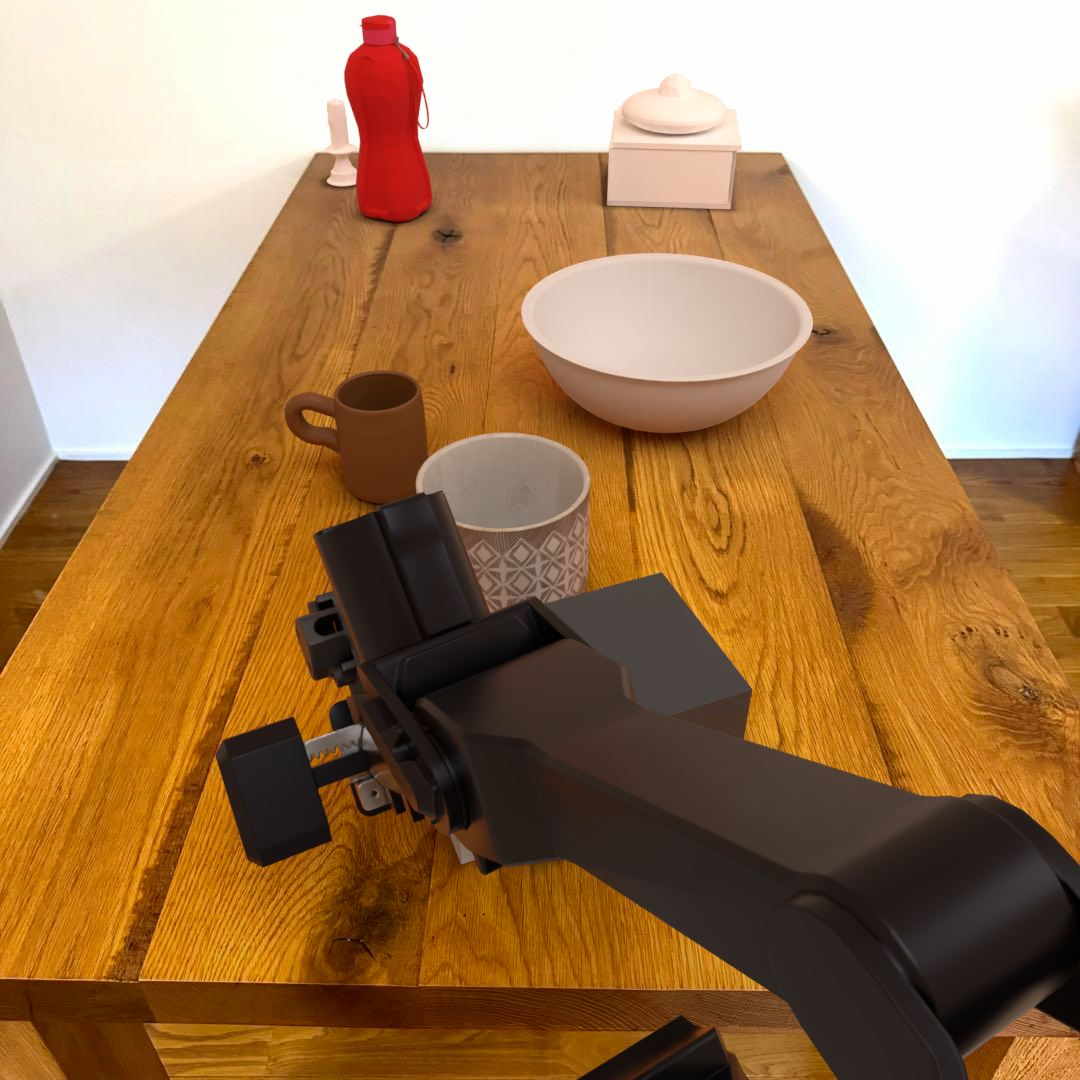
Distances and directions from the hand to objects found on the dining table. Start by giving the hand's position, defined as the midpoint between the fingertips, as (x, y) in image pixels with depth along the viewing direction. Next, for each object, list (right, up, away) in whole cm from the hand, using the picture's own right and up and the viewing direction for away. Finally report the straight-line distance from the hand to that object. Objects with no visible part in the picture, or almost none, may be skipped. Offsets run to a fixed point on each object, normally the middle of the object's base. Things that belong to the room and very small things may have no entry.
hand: (387, 736), depth 60 cm
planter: (+6, +7, +22) cm, 24 cm away
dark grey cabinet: (+13, -3, +8) cm, 16 cm away
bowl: (+21, +25, +44) cm, 55 cm away
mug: (-7, +16, +34) cm, 38 cm away
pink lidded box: (+28, +64, +94) cm, 117 cm away
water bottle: (-11, +57, +86) cm, 104 cm away
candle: (-21, +65, +97) cm, 118 cm away
